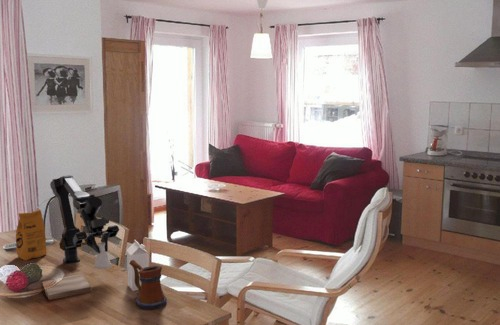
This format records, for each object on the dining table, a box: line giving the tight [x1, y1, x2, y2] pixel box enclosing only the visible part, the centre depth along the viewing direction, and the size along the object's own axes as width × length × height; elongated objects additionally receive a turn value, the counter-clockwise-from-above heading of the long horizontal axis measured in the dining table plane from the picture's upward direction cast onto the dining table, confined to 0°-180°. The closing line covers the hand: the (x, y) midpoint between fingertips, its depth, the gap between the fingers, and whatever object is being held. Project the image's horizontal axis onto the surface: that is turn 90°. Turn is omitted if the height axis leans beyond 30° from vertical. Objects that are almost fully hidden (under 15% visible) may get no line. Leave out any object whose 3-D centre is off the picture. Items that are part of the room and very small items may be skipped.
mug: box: [129, 260, 168, 310], centre depth 200 cm, size 18×12×15 cm, turn 47°
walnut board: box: [44, 273, 92, 301], centre depth 213 cm, size 16×16×2 cm
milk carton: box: [126, 239, 150, 292], centre depth 213 cm, size 7×7×19 cm
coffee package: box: [15, 209, 47, 261], centre depth 250 cm, size 10×12×22 cm
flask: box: [93, 241, 112, 270], centre depth 219 cm, size 7×7×10 cm
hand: (103, 252), depth 217 cm, fingers closed on flask, 3 cm apart
